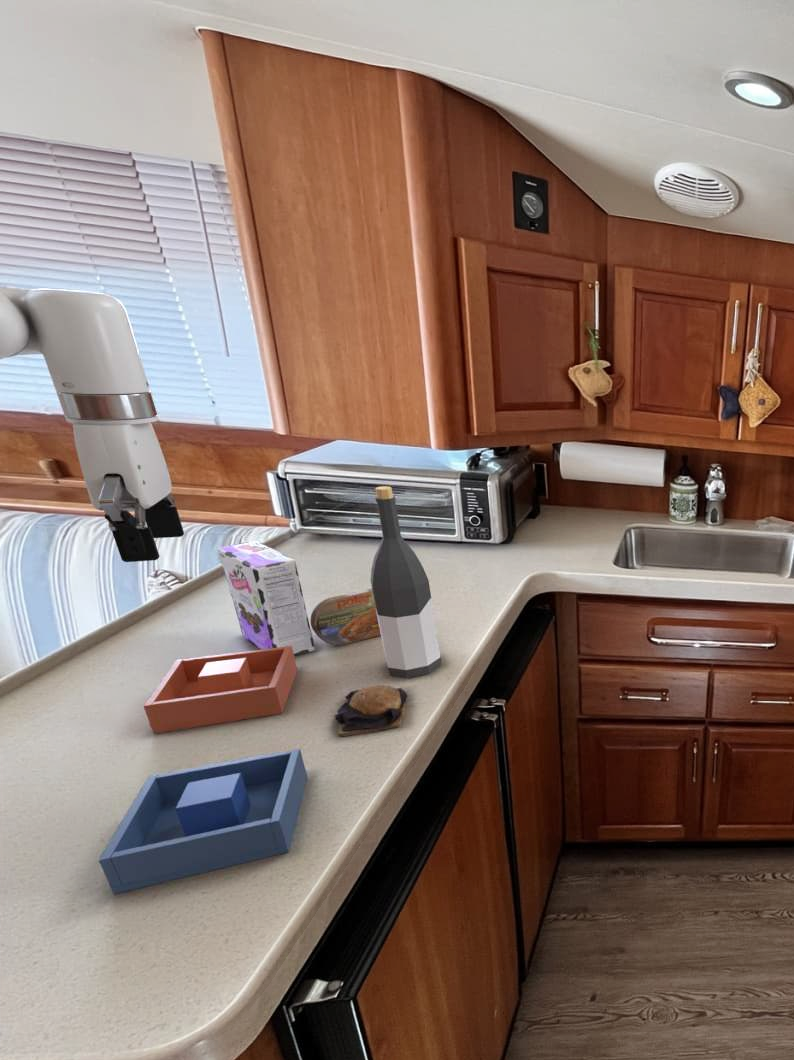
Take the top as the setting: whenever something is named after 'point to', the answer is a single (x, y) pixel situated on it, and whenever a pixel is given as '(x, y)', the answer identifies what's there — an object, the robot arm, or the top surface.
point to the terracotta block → (225, 676)
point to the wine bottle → (402, 599)
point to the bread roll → (371, 710)
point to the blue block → (213, 804)
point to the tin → (346, 618)
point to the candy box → (267, 596)
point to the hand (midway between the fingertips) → (155, 548)
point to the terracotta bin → (188, 707)
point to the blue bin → (167, 854)
